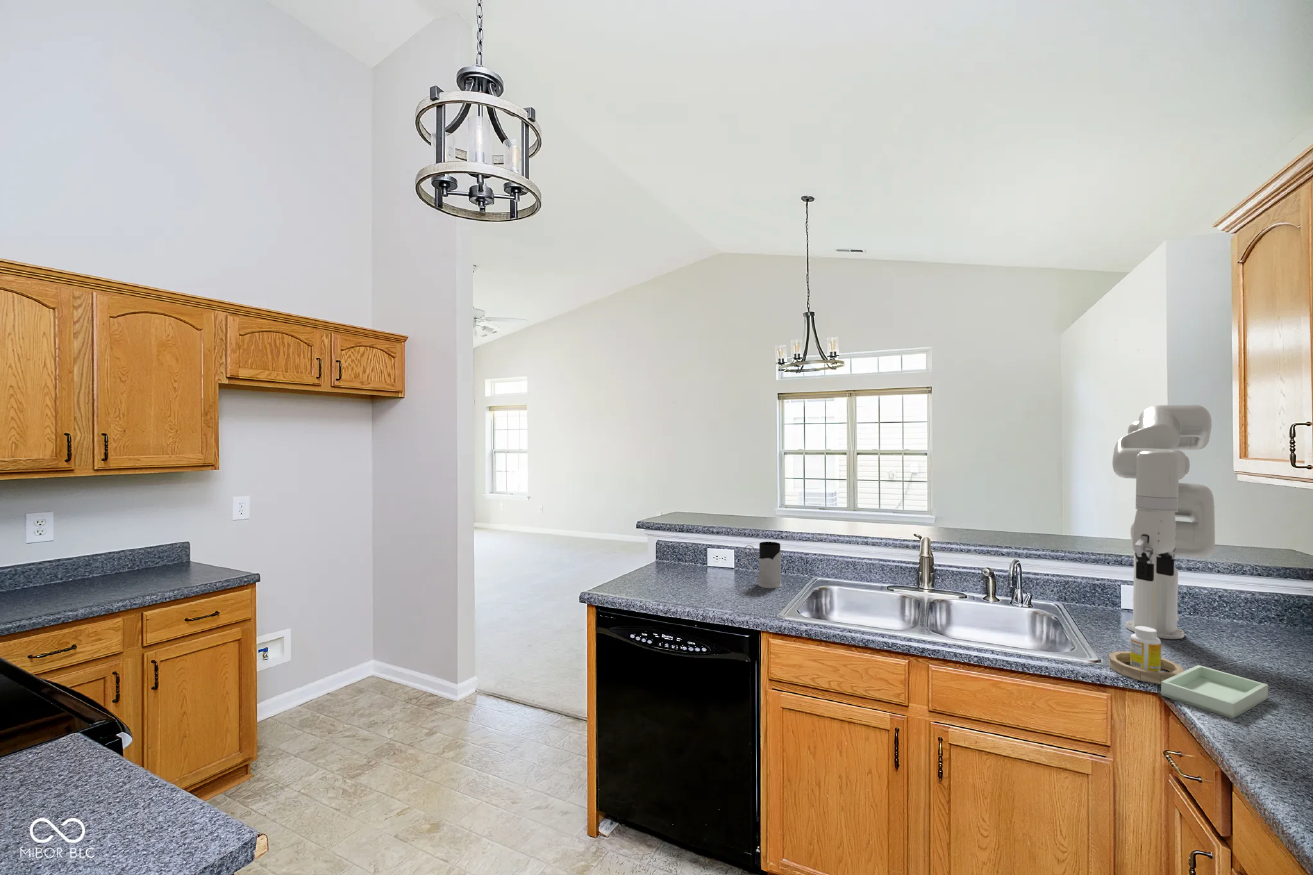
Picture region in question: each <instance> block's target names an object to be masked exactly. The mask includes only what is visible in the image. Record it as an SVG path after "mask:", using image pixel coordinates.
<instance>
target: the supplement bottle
mask: <svg viewBox="0 0 1313 875" xmlns="http://www.w3.org/2000/svg"><path fill="white" fill-rule="evenodd" d="M1129 649H1130V650H1129V651H1130V662H1129V664H1130V665H1129V666H1132V667H1135V668H1139V669H1142V670H1148V671H1154V672H1162V670H1161V658H1162V641H1161V638H1157V631H1156V630H1155V629H1153V628H1150V627H1145V626H1136V627H1135V632H1134V633H1132V634H1131V635H1130V648H1129Z"/></svg>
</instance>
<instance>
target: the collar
mask: <svg viewBox="0 0 1313 875" xmlns="http://www.w3.org/2000/svg"><path fill="white" fill-rule="evenodd" d="M1126 663H1130V650H1128V651H1127V650H1126V651H1124V650H1120V651H1118V650H1117V651H1114V652H1113V651H1112V652H1110V653H1108V665H1109V668H1110V669H1111V670H1112V671H1114V672H1117V673H1119V674H1120V675H1122V676H1124V677H1129V678H1132V679H1135V680H1138V681H1143V682H1147V683H1152V684H1153V683H1154V684H1158V685H1161V681H1164V680H1166V679H1168V678H1170V677H1173V676H1175V675H1177V674H1179V673H1181V672H1184V671H1185V670H1184V668H1183V667H1182V665H1180V664H1178V663H1176V662H1174V661H1172V660H1170V659H1168V658H1165V657H1164V658H1163V657H1161V669H1162V670H1164V669H1165V670H1164V671H1165V672H1164V671H1161V672H1154V671H1148V670H1142V669H1139V668H1135V667H1132V666H1130V665H1128V664H1126ZM1166 670H1168V671H1169V672H1168V671H1166Z"/></svg>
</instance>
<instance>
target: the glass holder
mask: <svg viewBox="0 0 1313 875" xmlns="http://www.w3.org/2000/svg"><path fill="white" fill-rule="evenodd" d="M747 547H751V548H752V549H753V554H754V557H755V559H758V573H757V572H756V570H754V569H753V567H751V565H750V563H748V560H747V558H746V548H747ZM758 549H759V553H758V556H757V555H756V553H757V552H756V549H755V547H754V546H753V545H749V544H747V545H745V546H744V548H743V558H744V559H743V560H744V561H745V564H746V565H747V567H748V568H749V569H750V570H751V571H752V572H753V573H754V574H755V575H756V576H757V579H758V582H757V586H758V587H760V588H764V589H778V588H781V587H783V584H782V581H781V580H782V576H781V574H782V561H781V560H782V551H781V543H780V542H778V541H777V542H776V541H762V542H759V548H758Z"/></svg>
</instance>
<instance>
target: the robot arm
mask: <svg viewBox="0 0 1313 875" xmlns="http://www.w3.org/2000/svg"><path fill="white" fill-rule="evenodd" d="M1212 422H1213V421H1212V417H1211V414H1210V412H1209V411H1208V409H1207V408H1206V407H1204V406H1202V405H1198V404H1166V405H1165V404H1162V405H1161V404H1160V405H1159V404H1158V405H1153V406H1149V407H1147V408H1145V409H1144V410H1143V411H1141V413H1140V415H1139V418H1138V420H1136V421H1133V422H1132V423H1130V424H1129V426H1128V429H1127V434H1125V435H1123V436H1122V437H1120V438H1119V439H1118V441H1117V442H1116V444H1115V445H1114V448H1113V453H1112V454H1113V455H1112V464H1111V465H1112V469H1113V472H1114V473H1115V475H1116V476H1118V477H1120V478H1123V479H1133V480H1135V509H1136V512H1135V516H1134V522H1133V523H1132V524H1131V526H1130V539H1131V544H1132V546H1131V548H1132V553H1133V587H1132V588H1133V591H1132V592H1133V599H1132V600H1133V602H1132V620H1131V619H1130V620H1127V621H1126V622H1125V627H1126V628H1127V629H1128V630H1129V631H1131V632H1134V633H1135V627H1136V626H1145V627H1150V628H1153V629H1155V630H1156V631H1157V638H1159V639H1164V640H1165V639H1166V640H1180V639H1183V638H1184V637H1185V631H1184V630H1183V629H1181V628H1178V621H1179V620H1180V616H1179V615H1178V598H1179V597H1178V595H1179V591H1178V590H1179V572H1178V569H1177V568H1176V566H1175V558H1176V556H1177V557H1186V558H1187V557H1188V558H1193V559H1207V558H1210V557H1212V555H1213V554H1214V552H1215V547H1216V546H1215V544H1216V543H1215V542H1216V531H1215V528H1216V527H1215V521H1216V520H1215V498H1214V494H1213V492H1212V490H1211V489H1210V488H1209V487H1208V486H1206V485H1204V484H1198V483H1186V482H1185V483H1183V482H1179V481H1180V480H1182V479H1183V478H1184V477H1186V475H1187V474H1189V471H1190V466H1191V464H1190V463H1191V462H1190V458H1189V457H1188V456H1187V455H1186V454H1185V452H1183V451H1185V450H1186V451H1188V450H1189V451H1196V450H1202V449H1204V448H1206V447H1207V445H1208V444H1209V442H1210V439H1211V438H1210V437H1211V431H1212V424H1213V423H1212ZM1182 450H1183V451H1182ZM1176 518H1183V519H1189V520H1190V521H1181V520H1176Z"/></svg>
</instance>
